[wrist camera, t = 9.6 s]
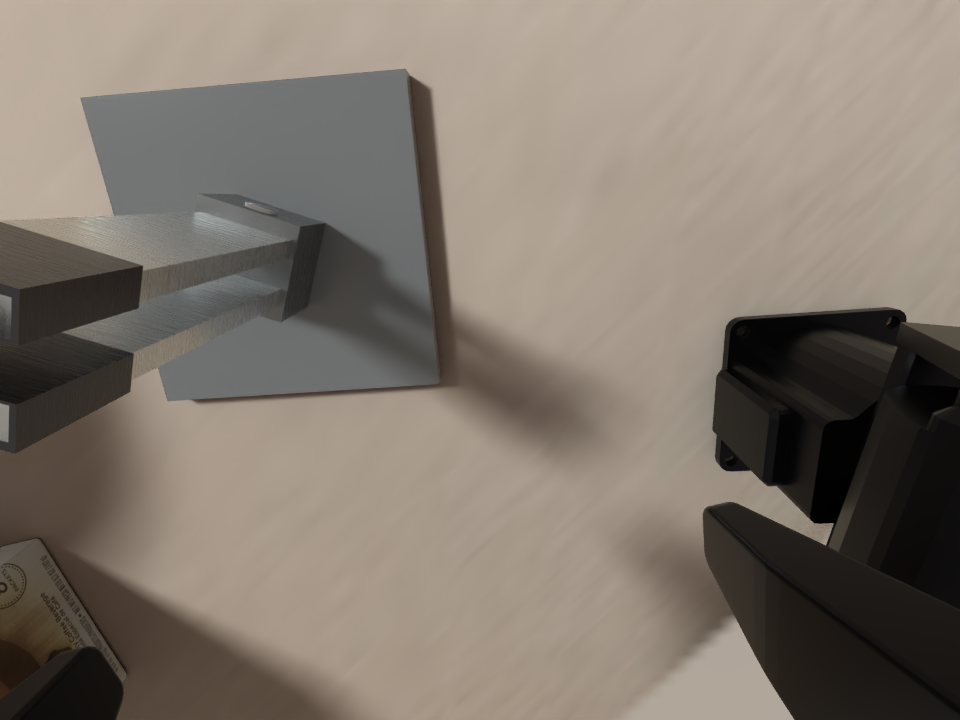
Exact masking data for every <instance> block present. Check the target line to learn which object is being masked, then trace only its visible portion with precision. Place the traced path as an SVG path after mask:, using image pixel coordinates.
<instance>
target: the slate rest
mask: <svg viewBox="0 0 960 720" xmlns="http://www.w3.org/2000/svg"><path fill="white" fill-rule="evenodd" d="M81 102H82V105H83V109H84V112H85V116H86V119H87V123H88V126H89V130H90V133H91V137H92V140H93V144H94V147H95V151H96V154H97V157H98V161H99V164H100V168H101V171H102V175H103V178H104V182H105V185H106V189H107V192H108V196H109V199H110V203H111V206H112V210H113V213H114V216H117V215H140V214H163V213H186V212H195V206H196V198H197V193H201V194H238V195H241V196H244V197H247V198H250V199H253V200H256V201H259V202H263V203H266V204H269V205H272V206H275V207H278V208H281V209H284V210H287V211H290V212H294V213H297V214H300V215H303V216H306V217H309V218H312V219H315V220H318V221H321V222H324V223H326V224H325V228H324V233H323V238H322V242H321V247H320V252H319V256H318V261H317V266H316V270H315V275H314V280H313V285H312V289H311V294H310V299H309V303H308V307H307V308H305V309H303V310H301V311H300V312H298V313H296V314H295V315H293V316H291V317H290V318H288V319H286V320H285V321H283V322H278V321H275V320H271V319H268V318H265V317H262V316H258V317H256V318H254V319H252V320H250V321H248V322H246V323H244V324H242V325H240V326H238V327H236V328H234V329H232V330H230V331H228V332H226V333H224V334H222V335H220V336H218V337H216V338H214V339H212V340H210V341H208V342H206V343H204V344H202V345H200V346H198V347H197V348H195V349H193V350H191V351H189V352H187V353H185V354H183V355H181V356H179V357H177V358H175V359H173V360H171V361H169V362H167V363H165V364H163V365H161V366H159V367H158V369H159V373H160V376H161V380H162V383H163V387H164V390H165V394H166V397H167V400H168V401H177V400H193V399H209V398H225V397H241V396H257V395H273V394H289V393H305V392H321V391H337V390H353V389H369V388H385V387H401V386H417V385H433V384H439V382H440V379H441V373H440V363H439V354H438V344H437V335H436V325H435V315H434V306H433V296H432V287H431V277H430V267H429V258H428V248H427V239H426V229H425V219H424V210H423V200H422V191H421V181H420V171H419V162H418V152H417V143H416V133H415V123H414V114H413V104H412V94H411V85H410V75H409V73H408V72H407V70H406V69H398V70H386V71H375V72H364V73H353V74H341V75H330V76H319V77H308V78H297V79H285V80H274V81H263V82H252V83H240V84H229V85H218V86H207V87H196V88H184V89H173V90H162V91H151V92H139V93H128V94H117V95H106V96H94V97H83V98H81Z"/></svg>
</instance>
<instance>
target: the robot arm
mask: <svg viewBox="0 0 960 720" xmlns="http://www.w3.org/2000/svg"><path fill="white" fill-rule="evenodd" d="M889 317H891V319H892V320H891V322H890V323H889V324H888V325H887V326H886V321H887V319H888V318H889ZM741 326H745V331H744V333H743V334H742V335H740V336H737V330H738V329H739V328H740V327H741ZM713 431H714V432H715V433H716V434H717V440H716V453H715V459H716V462H717V463H718V464H719V465H720V467H721V468H722V469H724V470H726V471H745V470H751V471H752V472H753V473H754V474H755V475H756V476H757V477H758V478H759V479H760V480H761V481H762V482H763V483H764V484H765V485H767V486H777V487H778V488H779V489H780V490H781V491H782V492H783V493H784V494H785V495H786V496H787V497H788V498H789V499H790V500H791V501H792V502H793V503H794V504H795V505H796V506H797V507H798V508H799V509H800V510H801V511H802V512H803V513H804V514H805V515H806V516H807V517H808V518H809V519H810V520H811V521H813V522H814V523H818V524H822V523H834V525H833V528H832V531H831V533H830V536H829V539H828V542H827V544H826V546H825V545H823V544H821V543H819V542H817V541H815V540H813V539H811V538H809V537H807V536H804V535H802V534H800V533H798V532H796V531H794V530H792V529H790V528H788V527H785V526H783V525H781V524H779V523H777V522H775V521H773V520H771V519H769V518H766V517H764V516H762V515H760V514H758V513H756V512H754V511H752V510H750V509H748V508H745V507H743V506H741V505H739V504H737V503H734V502H726V503H721V504H717V505H713V506H708V507H707V508H705V509H704V512H703V532H704V551H705V556H706V560H707V563H708V565H709V567H710V570H711V571H712V573H713V575H714V577H715V579H716V581H717V583H718V585H719V587H720V589H721V591H722V593H723V595H724V596H725V598H726V600H727V602H728V604H729V606H730V608H731V610H732V612H733V614H734V616H735V618H736V619H737V621H738V623H739V625H740V627H741V629H742V631H743V633H744V635H745V637H746V639H747V641H748V643H749V644H750V646H751V648H752V650H753V652H754V654H755V656H756V658H757V660H758V661H759V663H760V665H761V667H762V669H763V670H764V672H765V674H766V676H767V677H768V679H769V681H770V682H771V684H772V685H773V687H774V689H775V690H776V692H777V693H778V695H779V697H780V698H781V700H782V701H783V703H784V704H785V706H786V707H787V709H788V710H789V712H790V714H791V715H792V716H793V718H794V720H960V327H953V326H942V325H930V324H919V323H907V322H906V315H905V313H904V312H902V311H901V310H898V309H894V308H889V307H883V308H868V309H853V310H838V311H823V312H808V313H793V314H778V315H763V316H748V317H738V318H734V319H733V320H731V321H730V322H729V323H728V325H727V326H726V330H725V340H724V353H723V365H722V370H721V371H720V372H719V373H718V375H717V378H716V391H715V404H714V417H713ZM731 455H734V456H733V458H732V459H731V460H730V461H725V460H726V458H727V457H728V456H731ZM123 695H124V687H123V683H122V681H121V679H120V677H119V676H118V675H117V673H116V672H115V670H114V669H113V667H112V666H111V664H110V663H109V661H108V660H107V658H106V657H105V655H104V654H103V652H102V651H101V650H100V649H99V648H97V647H95V646H85V647H81V648H76V649H72V650H68V651H65V652H62V653H60V654H59V655H57V656H56V657H54V658H53V659H52V660H50V661H49V662H48V663H46V664H45V665H44V666H42V667H41V668H40V669H39V670H37V671H36V672H35V673H33V674H32V675H31V676H29V677H28V678H27V679H26V680H24V681H23V682H22V683H20V684H19V685H18V686H16V687H15V688H14V689H12V690H11V691H10V692H9V693H7V694H6V695H5V696H3V697H2V698H1V699H0V720H116V719H117V716H118V713H119V710H120V707H121V704H122V700H123Z"/></svg>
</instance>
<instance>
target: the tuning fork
mask: <svg viewBox="0 0 960 720" xmlns="http://www.w3.org/2000/svg"><path fill="white" fill-rule="evenodd" d="M325 224H326V223H324V222H321V221H318V220H315V219H312V218H309V217H306V216H303V215H300V214H297V213H294V212H290V211H287V210H284V209H281V208H278V207H275V206H272V205H269V204H266V203H263V202H259V201H256V200H253V199H250V198H247V197H244V196H241V195H238V194H201V193H197V198H196V206H195V212H186V213H163V214H140V215H117V216H94V217H71V218H48V219H25V220H2V221H0V449H1V450H5V451H8V452H12V453H17V452H19V451H21V450H22V449H24V448H26V447H28V446H30V445H32V444H34V443H36V442H37V441H39V440H41V439H43V438H45V437H47V436H49V435H50V434H52V433H54V432H56V431H58V430H60V429H62V428H64V427H65V426H67V425H69V424H71V423H73V422H75V421H77V420H79V419H80V418H82V417H84V416H86V415H88V414H90V413H92V412H93V411H95V410H97V409H99V408H101V407H103V406H105V405H107V404H108V403H110V402H112V401H114V400H116V399H118V398H120V397H121V396H123V395H125V394H127V393H129V392H130V387H131V380H133V379H135V378H137V377H139V376H141V375H143V374H145V373H147V372H149V371H151V370H153V369H155V368H157V367H159V366H161V365H163V364H165V363H167V362H169V361H171V360H173V359H175V358H177V357H179V356H181V355H183V354H185V353H187V352H189V351H191V350H193V349H195V348H197V347H198V346H200V345H202V344H204V343H206V342H208V341H210V340H212V339H214V338H216V337H218V336H220V335H222V334H224V333H226V332H228V331H230V330H232V329H234V328H236V327H238V326H240V325H242V324H244V323H246V322H248V321H250V320H252V319H254V318H256V317H258V316H262V317H265V318H268V319H271V320H275V321H278V322H283V321H285V320H286V319H288V318H290V317H291V316H293V315H295V314H296V313H298V312H300V311H301V310H303V309H305V308H307V307H308V303H309V299H310V294H311V289H312V285H313V280H314V275H315V270H316V266H317V261H318V256H319V252H320V247H321V242H322V238H323V233H324V228H325Z"/></svg>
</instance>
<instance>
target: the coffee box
mask: <svg viewBox="0 0 960 720" xmlns="http://www.w3.org/2000/svg"><path fill="white" fill-rule="evenodd" d="M85 646H95V647H97V648H99V649H100V650H101V651H102V652H103V654H104V655H105V657H106V658H107V660H108V661H109V663H110V664H111V666H112V667H113V669H114V670H115V672H116V673H117V675H118V676H119V677H120V679H121V681H122V683H123V682H124V681H125V679H126V676H127V674H126V672H125V671H124V669H123V668H122V666H121V665H120V663H119V662H118V660H117V659H116V657H115V655H114V654H113V652H112V651H111V649H110V648H109V646H108V645H107V643H106V641H105V640H104V638H103V637H102V635H101V634H100V632H99V631H98V629H97V628H96V626H95V624H94V623H93V621H92V620H91V618H90V617H89V615H88V614H87V612H86V610H85V609H84V607H83V606H82V604H81V603H80V601H79V600H78V598H77V596H76V595H75V593H74V592H73V590H72V589H71V587H70V586H69V584H68V582H67V581H66V579H65V578H64V576H63V575H62V573H61V571H60V570H59V568H58V567H57V565H56V564H55V562H54V560H53V559H52V557H51V556H50V554H49V553H48V551H47V549H46V548H45V546H44V545H43V543H42V542H41V540H40V539H32V540H27V541H23V542H19V543H15V544H11V545H6V546H2V547H0V699H1V698H2V697H3V696H5V695H6V694H7V693H9V692H10V691H11V690H12V689H14V688H15V687H16V686H18V685H19V684H20V683H22V682H23V681H24V680H26V679H27V678H28V677H29V676H31V675H32V674H33V673H35V672H36V671H37V670H39V669H40V668H41V667H42V666H44V665H45V664H46V663H48V662H49V661H50V660H52V659H53V658H54V657H56V656H57V655H59V654H60V653H62V652H65V651H68V650H72V649H76V648H81V647H85Z"/></svg>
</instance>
